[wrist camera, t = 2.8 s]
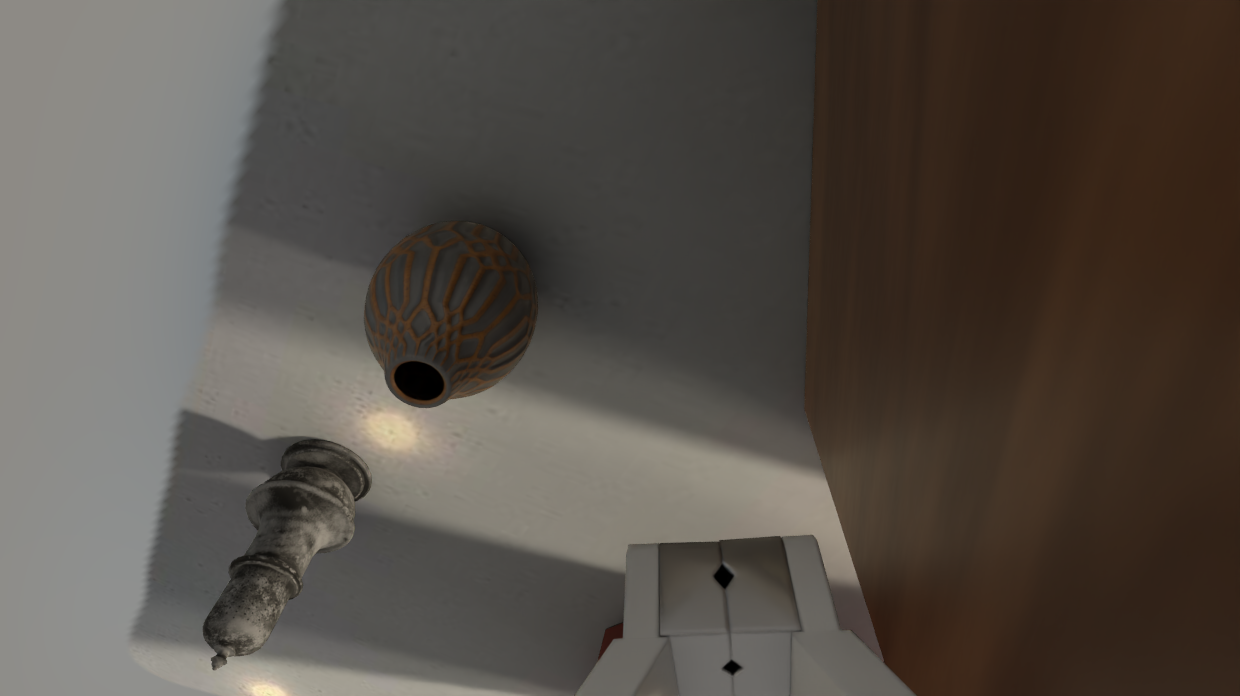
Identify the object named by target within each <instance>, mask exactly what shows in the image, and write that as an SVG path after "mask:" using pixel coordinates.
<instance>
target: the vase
mask: <svg viewBox="0 0 1240 696" xmlns="http://www.w3.org/2000/svg"><path fill="white" fill-rule="evenodd" d="M537 314H538V295H537V288H536V283H535V280H534V277H533V274H532V271H531V269H530V267H529V265H528V263H527V261H526V259H525V258H524V256H523V255H522V254H521V252H520V251H519V250H518V249H517V247H516V246H515V245H514V244H513V243H512V242H511V241H509V240H508V239H507V238H506V237H504V236H503V235H502V234H500V233H498V232H497V231H495V230H493V229H491V228H489V227H486V226H483V225H481V224H477V223H472V222H466V221H446V222H440V223H436V224H432V225H429V226H426V227H423V228H421V229H419V230H417V231H415V232H413V233H411V234H409V235H408V236H406V237H405V238H403V239H402V240H401V241H400V242H399V243H398V244H397V245H395V246H394V247H393V248H392V249H391V250H390V252H389V253H388V254H387V255H386V256H385V257H384V259H383V260H382V261H381V263H380V264H379V266H378V267H377V269H376V271H375V273H374V275H373V277H372V280H371V282H370V285H369V288H368V292H367V296H366V302H365V310H364V324H365V331H366V336H367V340H368V343H369V346H370V348H371V351H372V353H373V354H374V356H375V358H376V360H377V361H378V363H379V364H380V366H381V367H382V369H383V370H384V373H385V380H386V384H387V386H388V388H389V389H390V391H391V392H392V393H393V394H394V395H395V396H396V397H397V398H398V399H399V400H401V401H402V402H404V403H406V404H408V405H411V406H414V407H419V408H431V407H436V406H439V405H441V404H443V403H445V402H446V401H447V400H449V399H456V398H463V397H467V396H471V395H475V394H477V393H480V392H482V391H485V390H487V389H489V388H490V387H492V386H494V385H495V384H497V383H498V382H499V381H501V380H502V379H503V378H504V377H505V376H506V375H508V374H509V373H510V372H511V370H512V369H513V368H514V367H515V366H516V365H517V364H518V362H519V361H520V360H521V358H522V357H523V355H524V353H525V352H526V350H527V348H528V346H529V344H530V342H531V339H532V336H533V333H534V330H535V326H536V321H537Z"/></svg>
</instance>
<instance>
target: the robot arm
mask: <svg viewBox="0 0 1240 696" xmlns="http://www.w3.org/2000/svg"><path fill="white" fill-rule="evenodd" d="M575 696H917V695H916V694H915V693H914V692H913V691H912V690H911V689H910V688H909V687H908V686H907V685H906V684H905V683H904V682H903V681H902V680H901V679H900V678H899V677H898V676H897V675H896V674H895V673H894V672H893V671H892V670H891V669H890V668H889V667H888V666H887V665H886V664H885V663H884V662H883V661H882V660H881V659H880V658H879V657H878V656H877V655H876V654H875V653H874V652H873V651H872V650H871V649H870V648H869V647H868V646H867V645H866V644H865V643H864V642H863V641H862V640H861V639H860V638H859V637H858V636H857V635H856V634H855V633H854V632H853V631H852V630H841V628H840V624H839V620H838V616H837V613H836V609H835V605H834V601H833V598H832V594H831V590H830V587H829V583H828V579H827V575H826V572H825V568H824V564H823V560H822V557H821V553H820V549H819V546H818V542H817V540H816V538H815V537H814V536H813V535H802V536H786V537H780V536H773V537H759V538H744V539H730V540H719V542H686V543H660V544H659V543H654V544H632V545H629V546H628V550H627V554H626V576H625V600H624V623H623V638H620V639H613V641H612V642H611V644H610V645H609V647H608V648H607V649H606V651H605V652H604V654H603V655H602V657H601V658H600V660H599V661H598V662H597V664H596V665H595V667H594V668H593V670H592V671H591V673H590V674H589V675H588V677H587V678H586V680H585V681H584V683H583V684H582V686H581V687H580V688H579V690H578V691H577V693H576V694H575Z"/></svg>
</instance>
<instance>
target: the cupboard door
mask: <svg viewBox="0 0 1240 696" xmlns="http://www.w3.org/2000/svg"><path fill="white" fill-rule="evenodd" d="M804 410H805V413H806V416H807V419H808V422H809V425H810V429H811V432H812V435H813V438H814V441H815V444H816V447H817V451H818V454H819V457H820V460H821V463H822V466H823V470H824V473H825V476H826V479H827V482H828V485H829V488H830V492H831V495H832V498H833V501H834V504H835V507H836V511H837V514H838V517H839V520H840V523H841V526H842V530H843V533H844V536H845V539H846V542H847V545H848V548H849V552H850V555H851V558H852V561H853V564H854V567H855V571H856V574H857V577H858V580H859V583H860V586H861V589H862V593H863V596H864V599H865V602H866V605H867V608H868V612H869V615H870V618H871V621H872V624H873V627H874V631H875V634H876V637H877V640H878V643H879V646H880V649H881V653H882V656H883V659H884V662H885V664H886V665H887V666H888V667H889V668H890V669H891V670H892V671H893V672H894V673H895V674H896V675H897V676H898V677H899V678H900V679H901V680H902V681H903V682H904V683H905V684H906V685H907V686H908V687H909V688H910V689H911V690H912V691H913V692H914V693H915V694H916V695H917V696H1240V0H817V31H816V62H815V93H814V124H813V155H812V186H811V217H810V248H809V279H808V310H807V341H806V372H805V403H804Z"/></svg>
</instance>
